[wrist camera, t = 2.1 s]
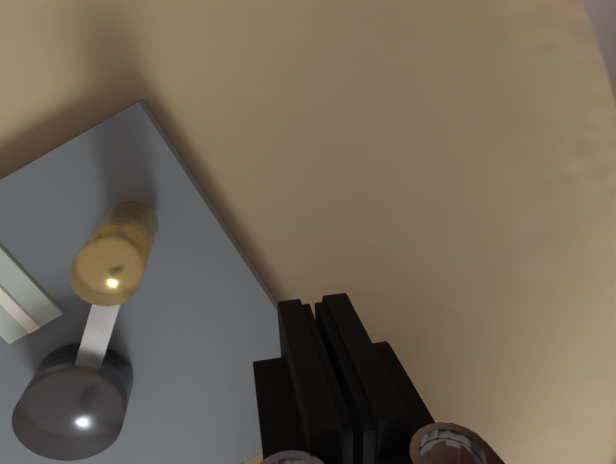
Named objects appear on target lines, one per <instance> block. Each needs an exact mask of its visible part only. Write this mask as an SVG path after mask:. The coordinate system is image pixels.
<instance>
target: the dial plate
mask: <svg viewBox="0 0 616 464" xmlns="http://www.w3.org/2000/svg"><path fill="white" fill-rule="evenodd" d="M124 201H137V202H140V203H143V204H145V205H147V206H148V207H149V208H151V209H152V211H153V212H154V213H155V215H156V216H157V219H158V223H159V228H158V233H157V236H156V238H155V241H154V244H153V247H152V250H151V252H150V255H149V258H148V261H147V264H146V266H145V269H144V272H143V275H142V278H141V280H140V283H139V286H138V288H137V291H136V292H135V294H134V295H133V296H132V297H131V298H130V299H129V300H127V301H126V302H124V303H122V304H121V307H120V310H119V314H118V317H117V320H116V323H115V326H114V330H113V333H112V336H111V339H110V342H109V345H108V348H109V349H111V350H113V351H114V352H116V353H117V354H119V355H120V356H121V357H122V358H124V360H125V361H126V362H127V363H128V365H129V366H130V368H131V371H132V374H133V388H132V392H131V396H130V399H129V403H128V407H127V411H126V414H125V418H124V422H123V426H122V430H121V432H120V435H119V436H118V438H117V439H116V441H115V442H114V443H113V444H112V445H111V446H110V447H109V448H107V449H106V450H105V451H103V452H101V453H99V454H97V455H95V456H92V457H89V458H86V459H81V460H74V461H61V460H54V459H49V458H45V457H42V456H40V455H37V454H35V453H34V452H32V451H30V450H29V449H27V448H26V447H25V446H24V445H23V444H22V443H21V442H20V441H19V440H18V439H17V437H16V435H15V433H14V431H13V427H12V413H13V411H14V408H15V406H16V404H17V403H18V401H19V399H20V397H21V396H22V394H23V392H24V391H25V389H26V387H27V386H28V384H29V382H30V380H31V379H32V377H33V375H34V374H35V372H36V370H37V369H38V367H39V365H40V363H41V362H42V361H43V360H44V358H45V357H47V356H48V355H49V354H50V353H52V352H53V351H55V350H57V349H59V348H61V347H64V346H67V345H72V344H80V343H81V341H82V338H83V334H84V331H85V328H86V324H87V321H88V317H89V314H90V310H91V307H92V304H91V303H88V302H86V301H85V300H83V299H82V298H80V297H79V296H78V295H77V294H76V293H75V292H74V290H73V288H72V287H71V284H70V281H69V269H70V266H71V264H72V262H73V261H74V259H75V258H76V256H77V255H78V254H79V252H80V251H81V249H82V248H83V247H84V245H85V244H86V243H87V241H88V240H89V238H90V237H91V236H92V234H93V233H94V231H95V230H96V229H97V227H98V226H99V225H100V223H101V222H102V220H103V219H104V218H105V216H106V215H107V213H108V212H109V211H110V209H111V208H112V207H113V206H115V205H116V204H118V203H121V202H124ZM280 357H281V350H280V337H279V324H278V310H277V302H276V300H275V299H274V297H273V296H272V294H271V293H270V291H269V290H268V288H267V286H266V285H265V283H264V282H263V280H262V279H261V277H260V276H259V274H258V273H257V271H256V270H255V268H254V267H253V265H252V264H251V262H250V261H249V259H248V258H247V256H246V254H245V253H244V251H243V250H242V248H241V247H240V245H239V244H238V242H237V241H236V239H235V238H234V236H233V235H232V233H231V232H230V230H229V229H228V227H227V226H226V224H225V222H224V221H223V219H222V218H221V216H220V215H219V213H218V212H217V210H216V209H215V207H214V206H213V204H212V203H211V201H210V200H209V198H208V197H207V195H206V194H205V192H204V190H203V189H202V187H201V186H200V184H199V183H198V181H197V180H196V178H195V177H194V175H193V174H192V172H191V171H190V169H189V168H188V166H187V165H186V163H185V162H184V160H183V158H182V157H181V155H180V154H179V152H178V151H177V149H176V148H175V146H174V145H173V143H172V142H171V140H170V139H169V137H168V136H167V134H166V133H165V131H164V130H163V128H162V126H161V125H160V123H159V122H158V120H157V119H156V117H155V116H154V114H153V113H152V111H151V110H150V108H149V107H148V105H147V104H146V102H145V101H144V99H142V100H140V101H138V102H137V103H135V104H133V105H131V106H130V107H128V108H126V109H124V110H123V111H121V112H119V113H117V114H116V115H114V116H112V117H110V118H108V119H107V120H105V121H103V122H101V123H100V124H98V125H96V126H94V127H93V128H91V129H89V130H87V131H86V132H84V133H82V134H80V135H79V136H77V137H75V138H73V139H72V140H70V141H68V142H66V143H64V144H63V145H61V146H59V147H57V148H56V149H54V150H52V151H50V152H49V153H47V154H45V155H43V156H42V157H40V158H38V159H36V160H35V161H33V162H31V163H29V164H27V165H26V166H24V167H22V168H20V169H19V170H17V171H15V172H13V173H12V174H10V175H8V176H6V177H5V178H3V179H1V180H0V464H241V463H243V462H245V461H247V460H248V459H250V458H252V457H254V456H256V455H258V454H259V453H261V452H262V444H261V435H260V426H259V417H258V408H257V399H256V390H255V380H254V371H253V361H260V360H266V359H273V358H280Z"/></svg>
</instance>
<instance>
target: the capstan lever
mask: <svg viewBox="0 0 616 464" xmlns="http://www.w3.org/2000/svg"><path fill="white" fill-rule="evenodd" d="M158 228H159V223H158V219H157V216H156V215H155V213H154V212H153V211H152V209H151V208H149V207H148V206H147V205H145V204H143V203H140V202H137V201H124V202H121V203H118V204H116V205H115V206H113V207H112V208H111V209H110V211H109V212H108V213H107V215H106V216H105V218H104V219H103V220H102V222H101V223H100V225H99V226H98V227H97V229H96V230H95V231H94V233H93V234H92V236H91V237H90V238H89V240H88V241H87V243H86V244H85V245H84V247H83V248H82V249H81V251H80V252H79V254H78V255H77V256H76V258H75V259H74V261H73V262H72V264H71V266H70V269H69V281H70V284H71V287H72V288H73V290H74V292H75V293H76V294H77V295H78V296H79V297H80V298H82V299H83V300H85V301H86V302H88V303H91V304H92V307H91V310H90V314H89V317H88V321H87V324H86V328H85V331H84V334H83V338H82V341H81V343H80V344H72V345H67V346H64V347H61V348H59V349H57V350H55V351H53V352H52V353H50V354H49V355H48V356H47V357H45V358H44V360H43V361H42V362H41V363H40V365H39V367H38V369H37V370H36V372H35V374H34V375H33V377H32V379H31V380H30V382H29V384H28V386H27V387H26V389H25V391H24V392H23V394H22V396H21V397H20V399H19V401H18V403H17V404H16V406H15V408H14V411H13V413H12V427H13V431H14V433H15V435H16V437H17V439H18V440H19V441H20V442H21V443H22V444H23V445H24V446H25V447H26V448H27V449H29V450H30V451H32V452H34V453H35V454H37V455H40V456H42V457H45V458H49V459H54V460H61V461H74V460H81V459H86V458H89V457H92V456H95V455H97V454H99V453H101V452H103V451H105V450H106V449H107V448H109V447H110V446H111V445H112V444H113V443H114V442H115V441H116V439H117V438H118V436H119V435H120V432H121V430H122V426H123V422H124V418H125V414H126V411H127V407H128V403H129V399H130V396H131V392H132V388H133V374H132V371H131V368H130V366H129V365H128V363H127V362H126V361H125V360H124V358H122V357H121V356H120V355H119V354H117V353H116V352H114V351H113V350H111V349H109V348H108V345H109V342H110V339H111V336H112V333H113V330H114V326H115V323H116V320H117V317H118V314H119V310H120V307H121V304H122V303H124V302H126V301H127V300H129V299H130V298H131V297H132V296H133V295H134V294H135V292H136V291H137V288H138V286H139V283H140V280H141V278H142V275H143V272H144V269H145V266H146V264H147V261H148V258H149V255H150V252H151V250H152V247H153V244H154V241H155V238H156V236H157V233H158Z"/></svg>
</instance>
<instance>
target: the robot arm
mask: <svg viewBox="0 0 616 464" xmlns="http://www.w3.org/2000/svg"><path fill="white" fill-rule="evenodd" d="M277 310H278V324H279V337H280V350H281V357H280V358H273V359H266V360H260V361H253V371H254V380H255V390H256V399H257V408H258V417H259V426H260V435H261V444H262V452H263V461H262V462H261V463H260V464H505V463H504V462H503V461H502V459H501V458H500V457H499V456H498V455H497V454H496V453H495V452H494V450H493V449H492V448H491V447H490V446H489V445H488V444H487V443H486V442H485V441H484V440H483V439H482V438H481V437H480V436H479V435H478V434H476V433H474V432H473V431H471V430H469V429H467V428H466V427H463V426H460V425H456V424H453V423H443V422H439V423H435V421H434V420H433V418H432V416H431V415H430V413H429V411H428V409H427V408H426V406H425V404H424V403H423V401H422V399H421V397H420V396H419V394H418V392H417V390H416V389H415V387H414V385H413V384H412V382H411V380H410V378H409V377H408V375H407V373H406V372H405V370H404V368H403V366H402V365H401V363H400V361H399V360H398V358H397V356H396V354H395V353H394V351H393V349H392V348H391V346H390V345H389V343H388V342H386V341H384V342H378V343H372V342H371V340H370V338H369V336H368V334H367V332H366V330H365V328H364V326H363V325H362V323H361V321H360V319H359V317H358V315H357V313H356V311H355V309H354V307H353V306H352V304H351V302H350V300H349V298H348V296H347V295H346V293H341V294H334V295H326V296H323V298H322V302H319V303H315V318H314V315H313V312H312V310H311V307H310V304H304V305H302V303H301V301H300V299H296V300H289V301H281V302H277Z"/></svg>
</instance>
